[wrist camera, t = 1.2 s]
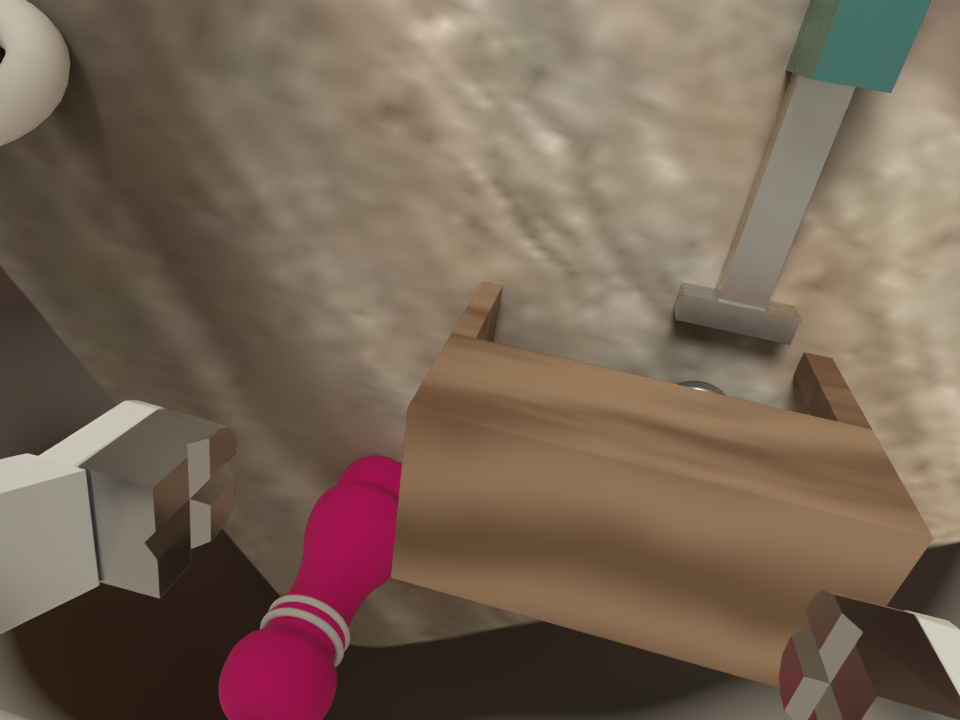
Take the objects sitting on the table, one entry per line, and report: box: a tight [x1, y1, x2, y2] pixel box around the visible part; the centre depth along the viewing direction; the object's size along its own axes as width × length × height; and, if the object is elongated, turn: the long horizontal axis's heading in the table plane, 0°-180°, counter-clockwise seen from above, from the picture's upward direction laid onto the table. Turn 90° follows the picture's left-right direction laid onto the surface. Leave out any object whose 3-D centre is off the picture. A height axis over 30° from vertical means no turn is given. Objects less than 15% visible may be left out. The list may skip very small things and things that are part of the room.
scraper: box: [674, 0, 931, 345], centre depth 28 cm, size 20×6×5 cm, turn 171°
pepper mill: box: [219, 456, 402, 720], centre depth 38 cm, size 7×7×20 cm
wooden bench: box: [391, 282, 933, 688], centre depth 33 cm, size 10×20×14 cm, turn 81°
